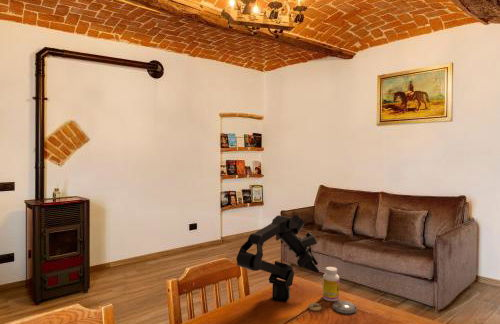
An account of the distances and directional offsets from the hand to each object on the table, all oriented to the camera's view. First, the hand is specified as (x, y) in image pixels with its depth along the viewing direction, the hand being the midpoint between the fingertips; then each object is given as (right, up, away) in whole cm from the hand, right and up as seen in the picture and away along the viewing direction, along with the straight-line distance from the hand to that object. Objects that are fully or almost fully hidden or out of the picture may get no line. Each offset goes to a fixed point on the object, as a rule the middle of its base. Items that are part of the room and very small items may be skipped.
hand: (317, 268), depth 148 cm
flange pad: (+9, -13, -9) cm, 18 cm away
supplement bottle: (+5, -13, 0) cm, 14 cm away
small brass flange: (-3, -13, -9) cm, 16 cm away
